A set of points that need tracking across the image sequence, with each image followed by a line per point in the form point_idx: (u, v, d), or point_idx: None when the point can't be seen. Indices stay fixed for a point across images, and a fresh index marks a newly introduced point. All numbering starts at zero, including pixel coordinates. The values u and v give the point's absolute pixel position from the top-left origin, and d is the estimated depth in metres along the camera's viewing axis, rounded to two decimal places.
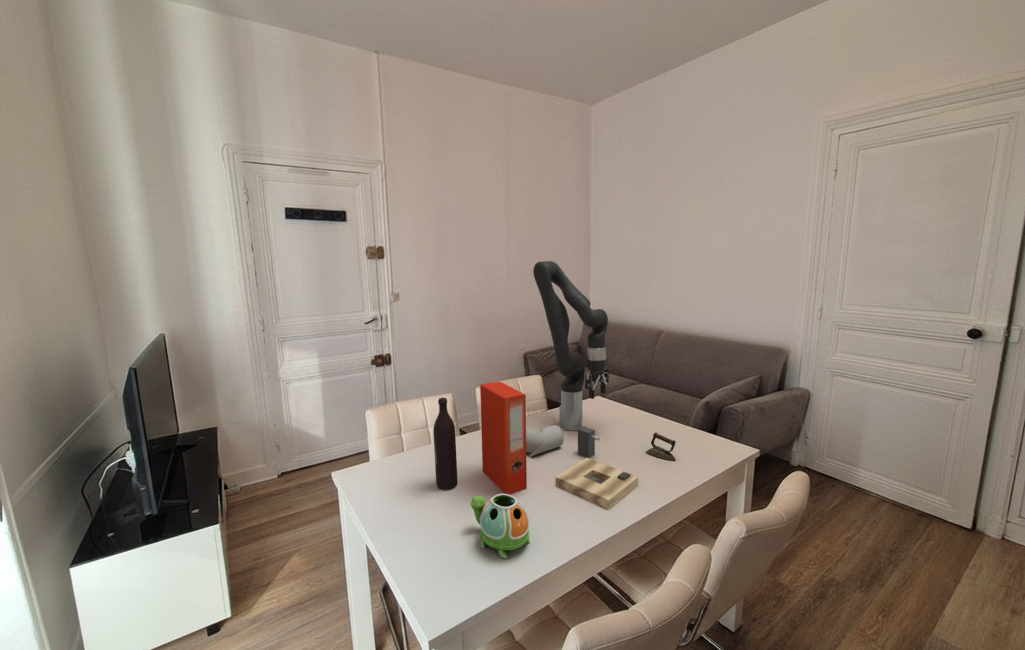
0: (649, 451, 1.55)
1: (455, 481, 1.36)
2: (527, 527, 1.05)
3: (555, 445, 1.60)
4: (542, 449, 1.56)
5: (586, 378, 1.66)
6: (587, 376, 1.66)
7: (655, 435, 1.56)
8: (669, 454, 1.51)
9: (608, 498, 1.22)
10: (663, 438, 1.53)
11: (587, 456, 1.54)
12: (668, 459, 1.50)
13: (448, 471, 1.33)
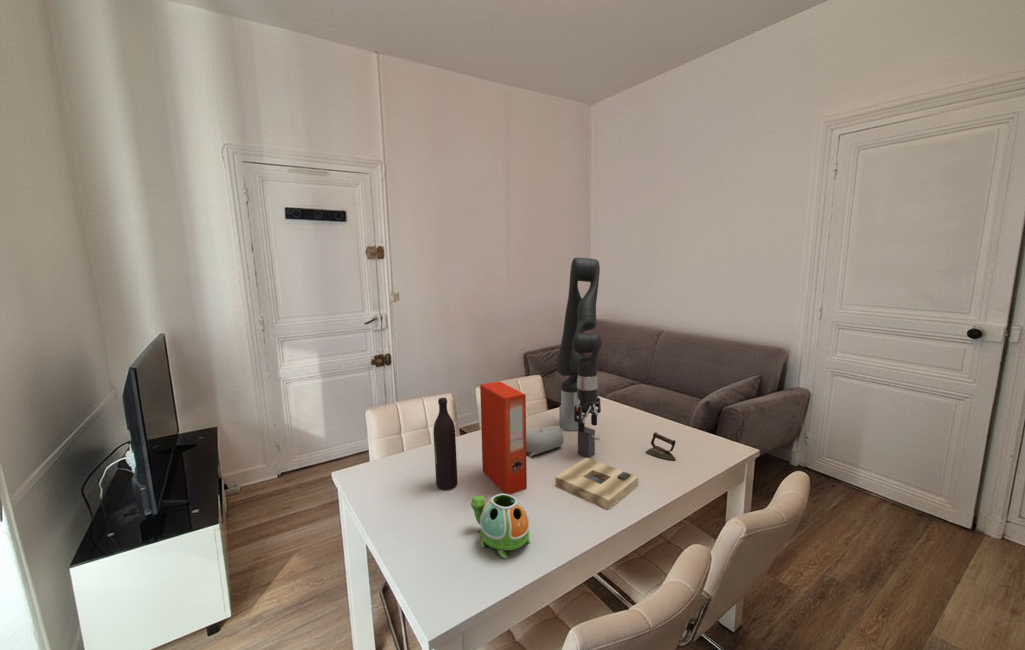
0: (649, 451, 1.55)
1: (455, 481, 1.36)
2: (527, 527, 1.05)
3: (555, 445, 1.60)
4: (542, 449, 1.56)
5: (575, 410, 1.49)
6: (576, 408, 1.49)
7: (655, 435, 1.56)
8: (669, 454, 1.52)
9: (608, 498, 1.22)
10: (663, 438, 1.53)
11: (587, 456, 1.54)
12: (668, 459, 1.50)
13: (448, 471, 1.33)
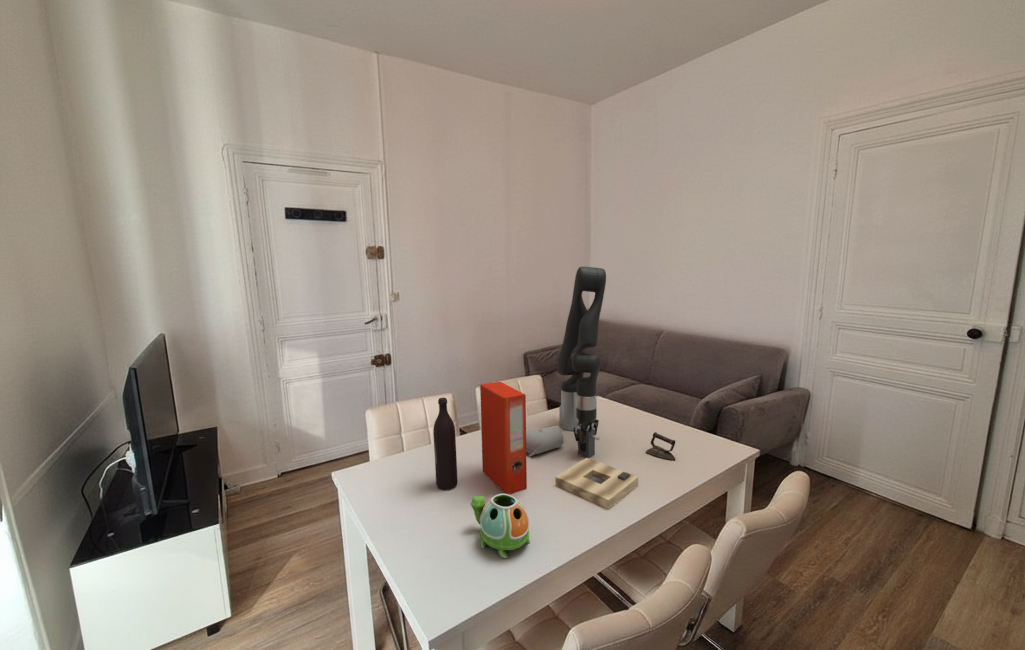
0: (649, 451, 1.56)
1: (455, 481, 1.36)
2: (527, 527, 1.05)
3: (555, 445, 1.59)
4: (541, 449, 1.56)
5: (575, 432, 1.51)
6: (575, 431, 1.50)
7: (655, 435, 1.56)
8: (669, 454, 1.52)
9: (608, 498, 1.22)
10: (663, 438, 1.53)
11: (587, 456, 1.54)
12: (668, 459, 1.51)
13: (448, 471, 1.33)
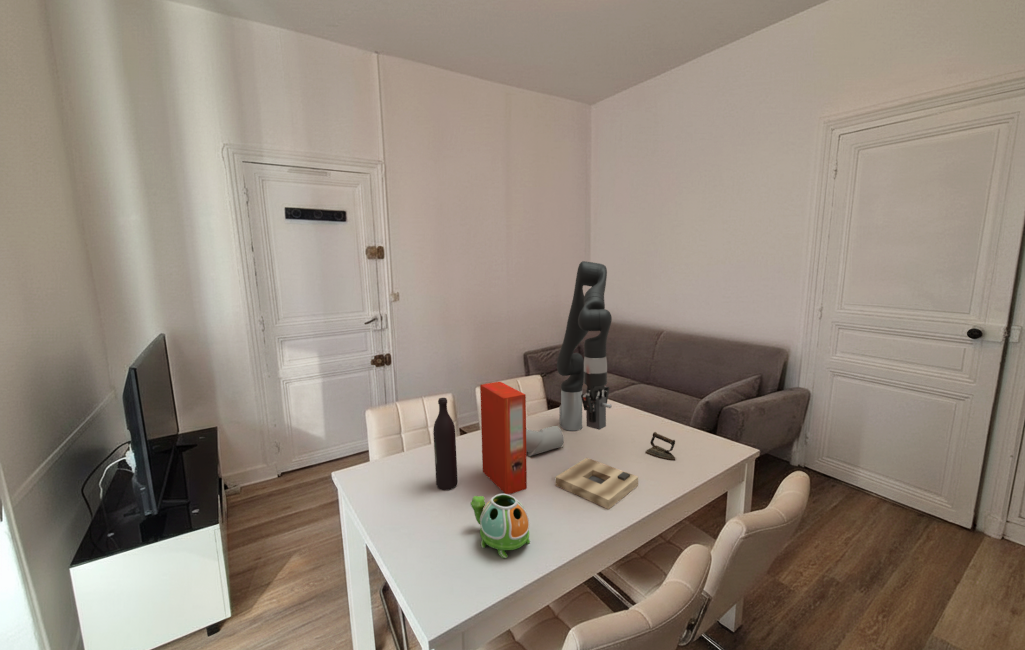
0: (649, 451, 1.56)
1: (455, 481, 1.36)
2: (527, 527, 1.05)
3: (555, 446, 1.59)
4: (541, 449, 1.56)
5: (583, 399, 1.32)
6: (584, 397, 1.32)
7: (654, 435, 1.56)
8: (669, 453, 1.52)
9: (608, 498, 1.22)
10: (663, 438, 1.53)
11: (597, 427, 1.35)
12: (668, 459, 1.51)
13: (448, 471, 1.33)
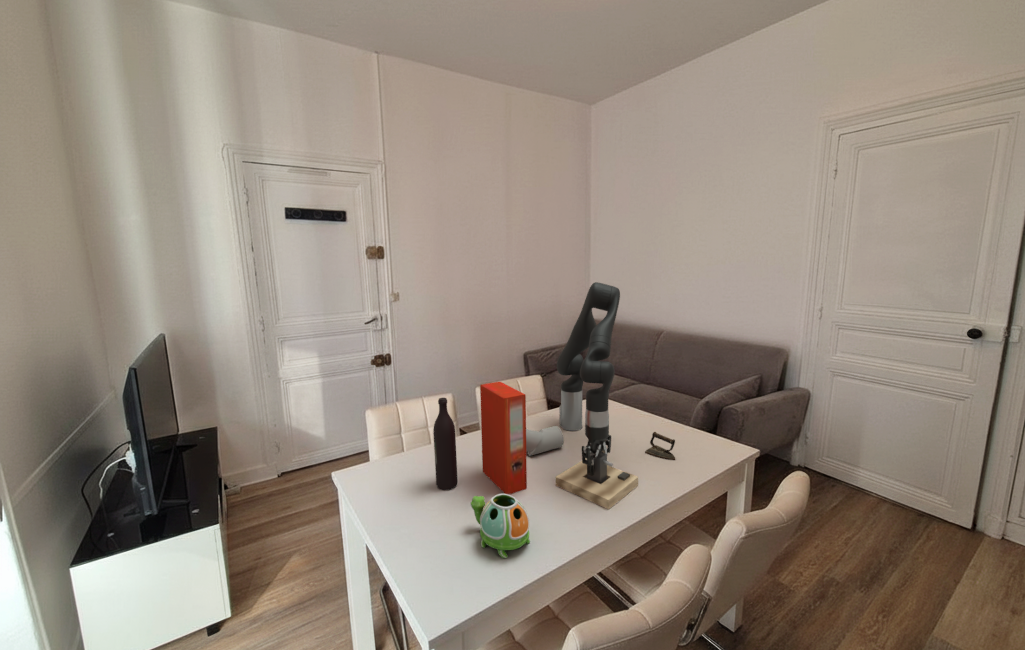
0: (648, 451, 1.56)
1: (455, 481, 1.36)
2: (527, 527, 1.05)
3: (555, 446, 1.59)
4: (540, 449, 1.56)
5: (583, 451, 1.29)
6: (584, 449, 1.28)
7: (654, 434, 1.56)
8: (669, 453, 1.52)
9: (608, 498, 1.22)
10: (662, 437, 1.54)
11: None
12: (668, 458, 1.51)
13: (448, 471, 1.33)
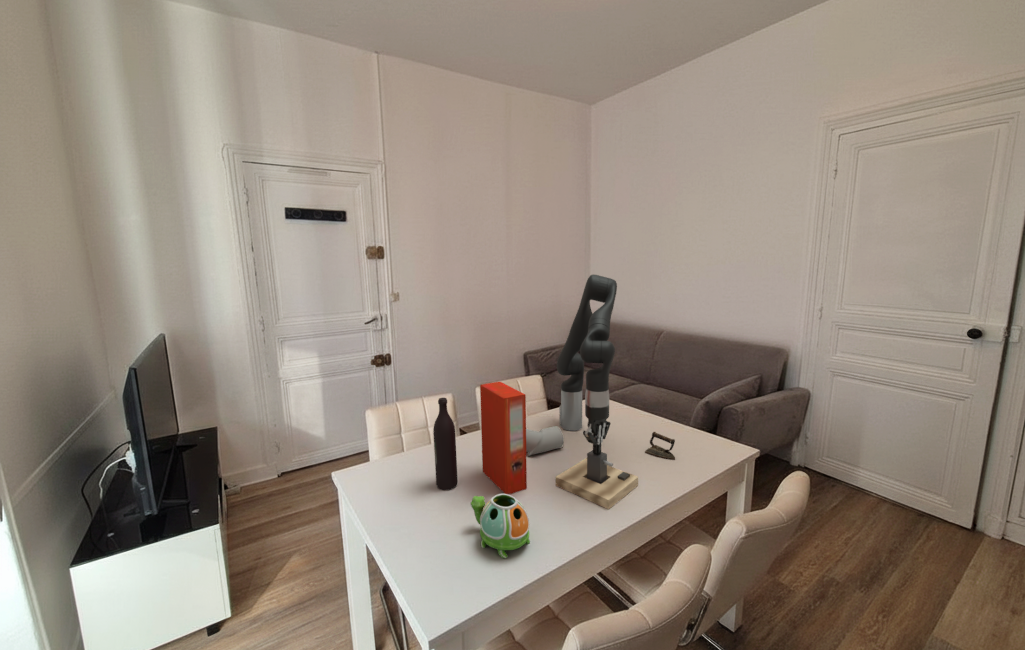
0: (648, 450, 1.56)
1: (455, 481, 1.36)
2: (527, 527, 1.05)
3: (554, 446, 1.59)
4: (540, 449, 1.56)
5: (585, 436, 1.29)
6: (586, 435, 1.28)
7: (654, 434, 1.56)
8: (668, 453, 1.52)
9: (608, 498, 1.22)
10: (662, 437, 1.54)
11: None
12: (668, 458, 1.51)
13: (448, 471, 1.33)
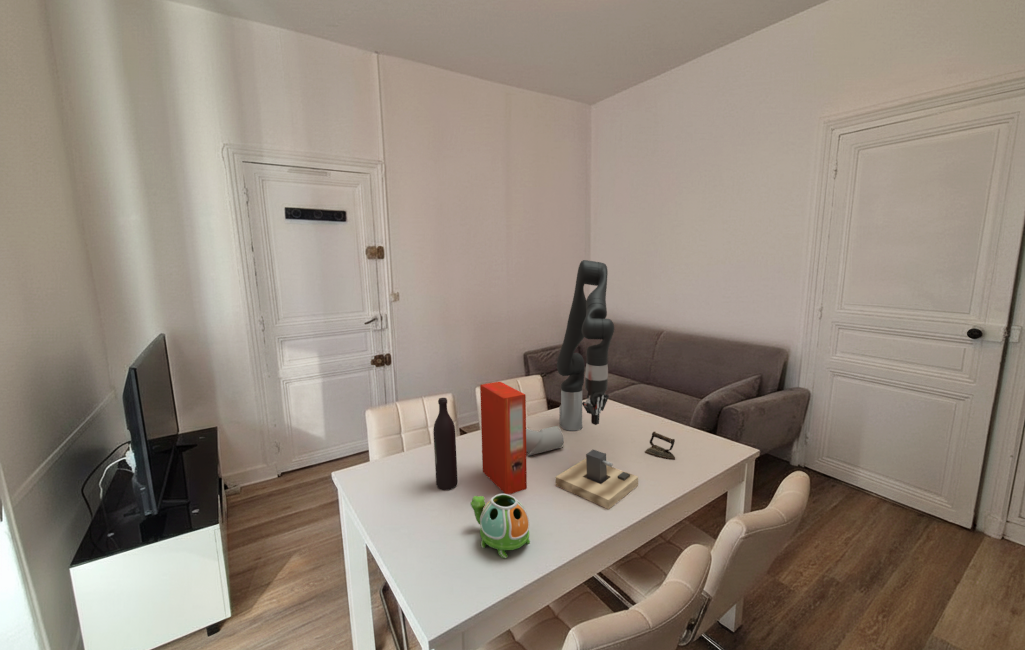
0: (648, 450, 1.56)
1: (455, 481, 1.36)
2: (527, 527, 1.05)
3: (554, 446, 1.59)
4: (540, 449, 1.56)
5: (585, 406, 1.39)
6: (585, 405, 1.38)
7: (654, 434, 1.56)
8: (668, 453, 1.52)
9: (608, 498, 1.22)
10: (662, 437, 1.54)
11: None
12: (668, 458, 1.51)
13: (449, 471, 1.33)
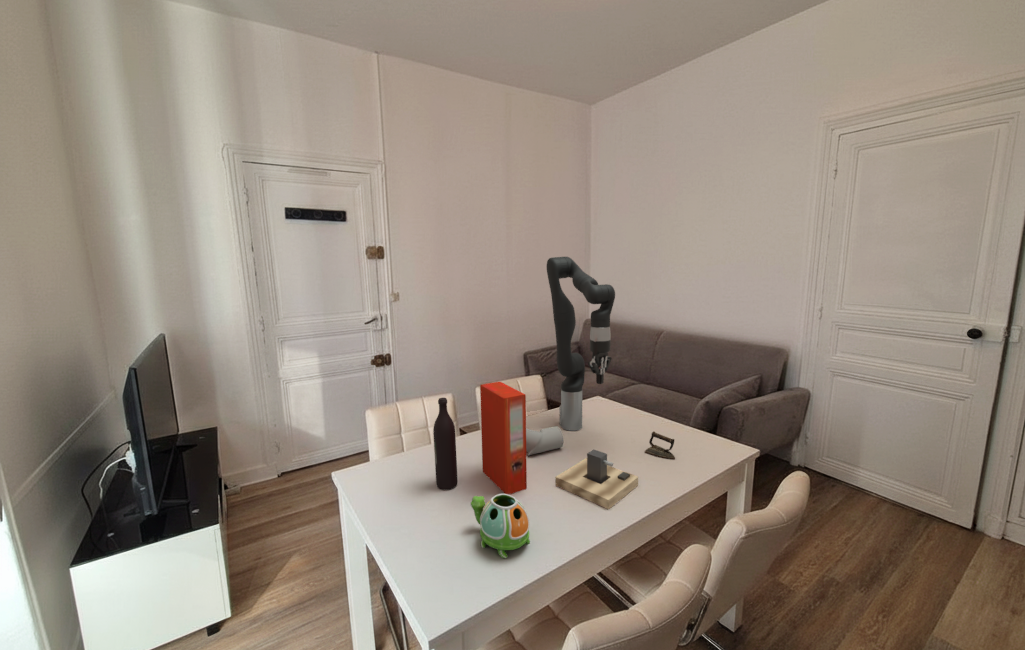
0: (648, 450, 1.56)
1: (455, 481, 1.36)
2: (527, 527, 1.05)
3: (554, 446, 1.59)
4: (539, 449, 1.56)
5: (590, 366, 1.51)
6: (590, 365, 1.50)
7: (653, 434, 1.57)
8: (668, 453, 1.53)
9: (608, 498, 1.22)
10: (662, 437, 1.54)
11: None
12: (668, 458, 1.51)
13: (448, 471, 1.33)
